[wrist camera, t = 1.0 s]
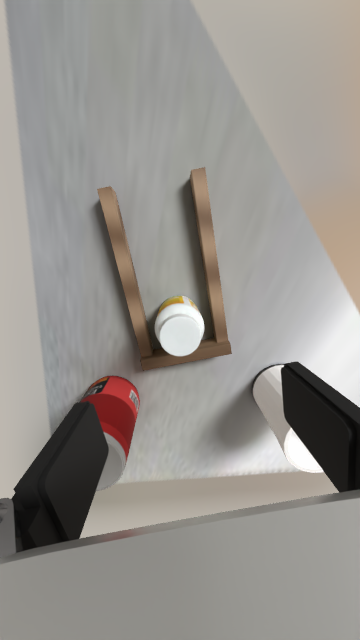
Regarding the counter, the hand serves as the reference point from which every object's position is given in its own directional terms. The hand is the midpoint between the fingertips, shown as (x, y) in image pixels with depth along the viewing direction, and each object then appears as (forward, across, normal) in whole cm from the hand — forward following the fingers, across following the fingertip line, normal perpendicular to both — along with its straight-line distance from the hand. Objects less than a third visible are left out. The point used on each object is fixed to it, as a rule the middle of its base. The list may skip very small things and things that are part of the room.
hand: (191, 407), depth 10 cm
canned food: (+19, +12, +10) cm, 25 cm away
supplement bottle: (+19, 0, 0) cm, 19 cm away
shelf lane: (+19, 0, -6) cm, 20 cm away
